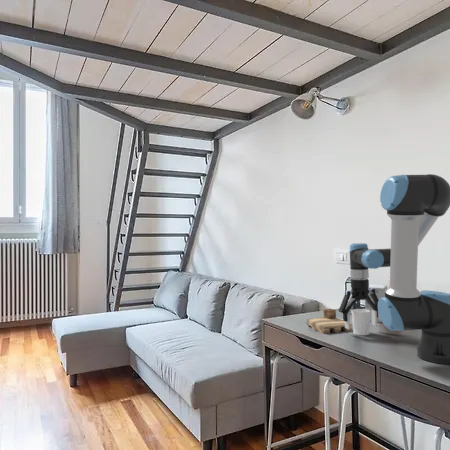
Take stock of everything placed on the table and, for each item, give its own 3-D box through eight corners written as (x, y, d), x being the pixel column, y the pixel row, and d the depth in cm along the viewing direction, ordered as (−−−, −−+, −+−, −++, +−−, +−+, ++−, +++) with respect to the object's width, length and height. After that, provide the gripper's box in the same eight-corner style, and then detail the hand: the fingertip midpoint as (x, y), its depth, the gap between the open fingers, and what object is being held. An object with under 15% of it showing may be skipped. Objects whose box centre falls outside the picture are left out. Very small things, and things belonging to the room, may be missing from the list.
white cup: (368, 331, 182) (367, 308, 182) (373, 335, 175) (372, 312, 175) (350, 331, 183) (349, 308, 183) (354, 336, 175) (353, 312, 175)
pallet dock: (351, 330, 184) (351, 323, 184) (323, 333, 181) (323, 326, 181) (332, 322, 200) (332, 316, 200) (307, 325, 196) (306, 319, 196)
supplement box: (369, 317, 208) (368, 284, 208) (388, 318, 204) (387, 284, 204) (365, 321, 200) (363, 286, 200) (384, 323, 195) (383, 287, 195)
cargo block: (336, 318, 196) (335, 309, 196) (329, 319, 194) (329, 310, 194) (330, 316, 199) (330, 308, 199) (323, 317, 197) (323, 309, 197)
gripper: (378, 275, 186) (379, 322, 186) (329, 279, 179) (331, 327, 179) (389, 277, 179) (390, 326, 179) (339, 281, 172) (340, 332, 172)
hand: (361, 327), depth 179 cm, fingers open, 13 cm apart
